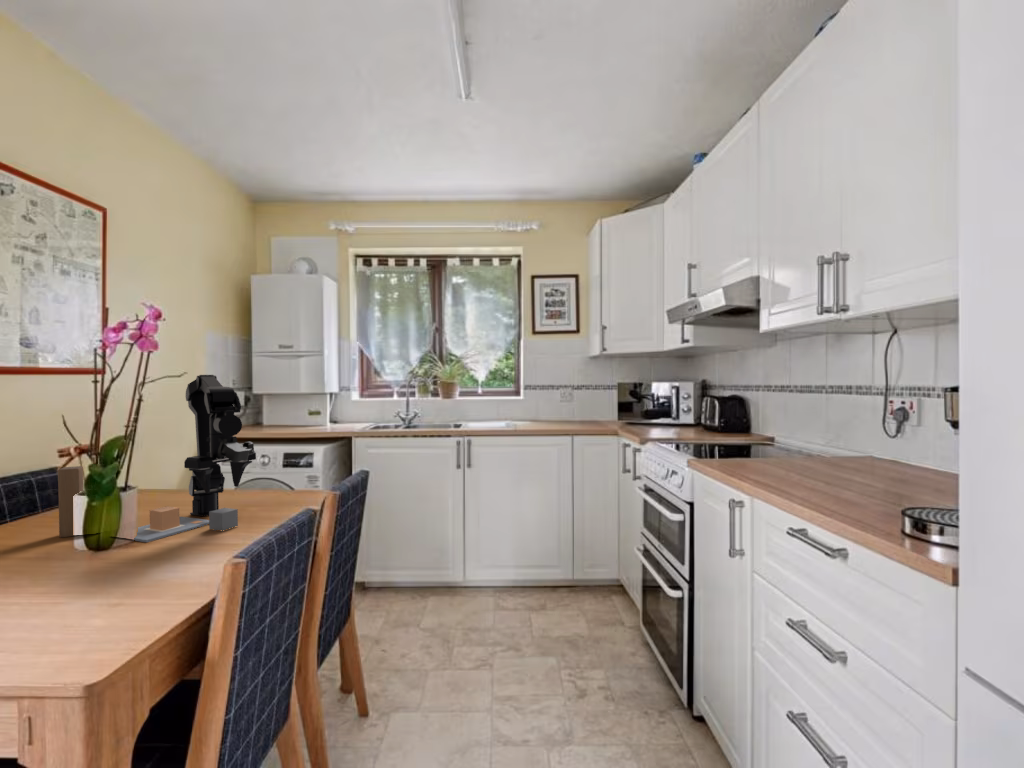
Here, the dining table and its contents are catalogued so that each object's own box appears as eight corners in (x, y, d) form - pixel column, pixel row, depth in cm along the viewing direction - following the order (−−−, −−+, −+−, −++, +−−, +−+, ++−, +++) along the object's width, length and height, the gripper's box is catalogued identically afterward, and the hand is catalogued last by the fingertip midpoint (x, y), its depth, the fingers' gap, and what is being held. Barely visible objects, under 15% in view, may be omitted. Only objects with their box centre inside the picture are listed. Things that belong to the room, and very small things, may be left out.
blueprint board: (180, 518, 167) (180, 516, 167) (214, 522, 161) (214, 520, 161) (110, 536, 148) (110, 534, 148) (146, 542, 143) (146, 539, 143)
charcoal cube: (224, 525, 159) (224, 507, 159) (237, 527, 157) (237, 509, 157) (209, 529, 155) (209, 511, 155) (222, 531, 153) (222, 513, 153)
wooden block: (104, 529, 155) (103, 464, 155) (100, 533, 151) (99, 467, 151) (64, 533, 151) (62, 467, 151) (58, 538, 147) (57, 469, 147)
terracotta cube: (167, 524, 158) (166, 506, 158) (179, 525, 156) (179, 507, 156) (149, 528, 154) (149, 510, 153) (162, 530, 152) (162, 511, 152)
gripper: (212, 438, 144) (213, 499, 144) (269, 431, 161) (270, 485, 161) (182, 436, 148) (183, 495, 148) (241, 429, 165) (242, 482, 166)
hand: (222, 489), depth 156 cm, fingers open, 9 cm apart
